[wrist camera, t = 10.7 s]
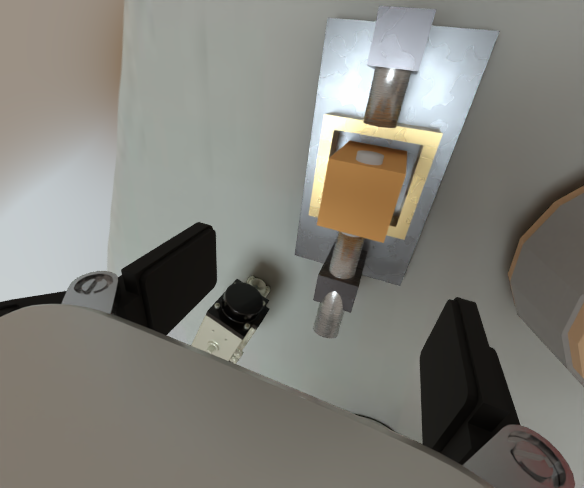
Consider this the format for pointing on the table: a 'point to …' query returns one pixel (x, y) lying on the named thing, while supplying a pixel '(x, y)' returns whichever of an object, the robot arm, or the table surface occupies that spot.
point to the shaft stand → (385, 136)
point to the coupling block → (362, 189)
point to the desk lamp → (554, 280)
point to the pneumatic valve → (233, 319)
